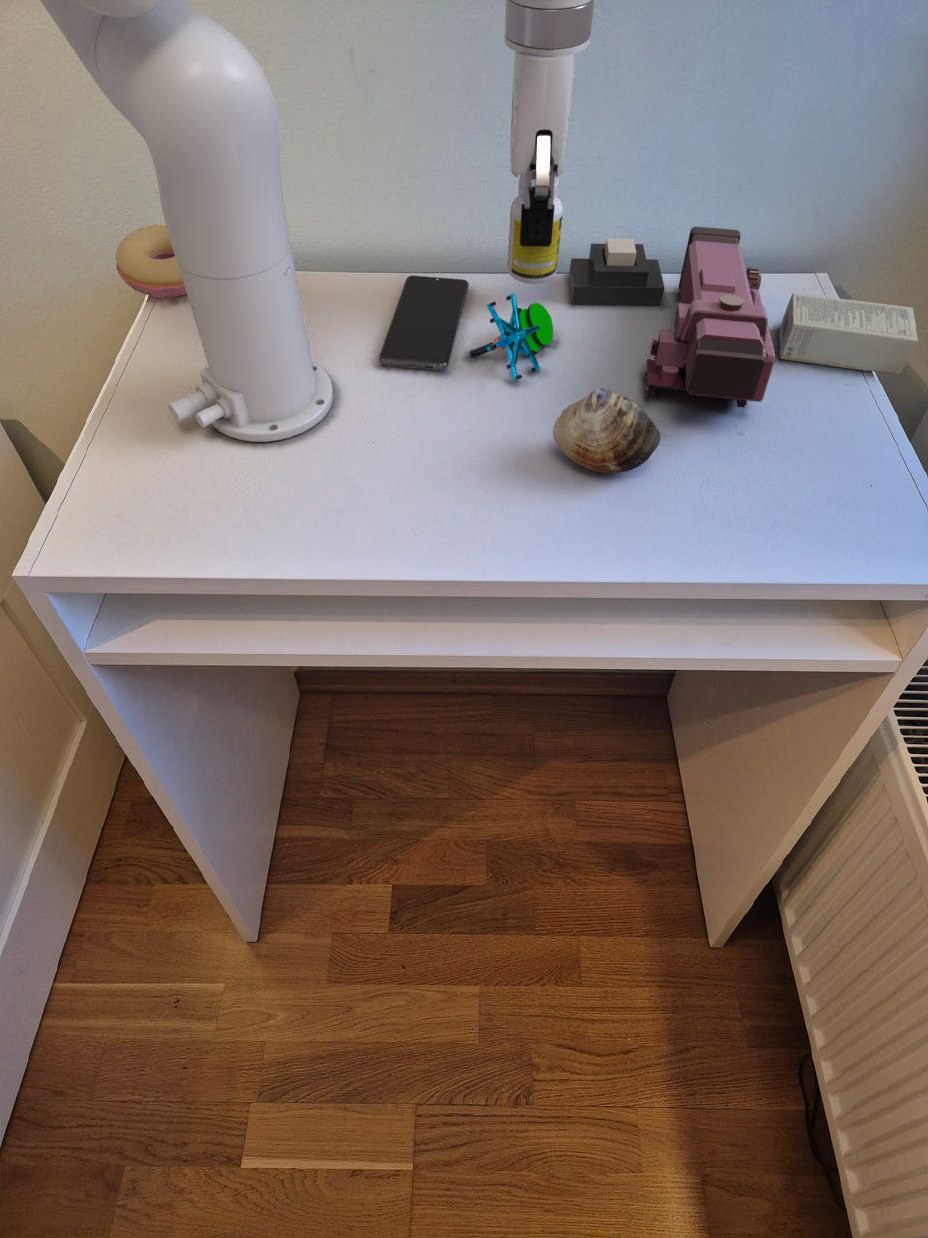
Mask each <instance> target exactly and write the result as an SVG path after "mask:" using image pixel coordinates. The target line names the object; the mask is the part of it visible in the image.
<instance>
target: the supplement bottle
mask: <svg viewBox="0 0 928 1238" xmlns="http://www.w3.org/2000/svg"><path fill="white" fill-rule="evenodd" d="M532 171H536V170H532ZM525 180H526V177H525V175H519V178H518V188H517V189H518V192H517V193H518V195H517V196H516V197H515V198H514V199H513V200H512V201H511V205H510V213H509V214H510V215H509V230H508V231H509V232H508V233H509V235H508V249H507V250H508V251H507V253H508V254H507V272H508V274H509V275H510V277H511V278H512V279H514V280H516V281H517V282H521V283H524V284H530V285H536V284H541V283H546V282H549V281H550V280H552V279H553V278H554V277H555V276H556V274H557V270H558V263H559V253H560V245H561V244H560V242H561V233H562V226H563V225H562V223H563V212H564V209H563V208H564V207H563V204H562V201H561V200H560V199H559V198H558V197H557V196H558V193H559V185H560V183H559V182H560V178H559V176H558V177H556V175H555V179H554V195H553V204H554V218H553V230H552V242H551V245H550V246H548V247H536V246H521V245H520V228H521V209H522V204H525ZM532 187H535V179H531V188H532Z"/></svg>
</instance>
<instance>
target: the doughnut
mask: <svg viewBox="0 0 928 1238" xmlns="http://www.w3.org/2000/svg"><path fill="white" fill-rule="evenodd" d="M151 225H152V226H151ZM151 225H146V226H144V227H140V228H138V229H135V231H132V232H131V233H129V234H128V235H126V236H125V237H124V238H123V239H122V240H121V242H120V243H119V245H118V246H117V249H116V252H115V263H116V264H115V269H116V271H117V273H118V275H119V277H121V279H122V280H123V281H124V283H125V284H127V286H128V287H130V288H132V289H133V290H134V292H138V293H141V294H142V295H145V296H149V297H153V298H154V299H156V297H158V298H172V297H173V299H176V297H179V296H184V295H187V293H186V290H185V286H184V283H183V280H182V276H181V273H180V270H179V266H178V263H177V261H176V258H175V255H174V251H173V248H172V245H171V241H170V238H169V234H168V231H167V227H166V225H157V224H151ZM153 225H154V226H153Z"/></svg>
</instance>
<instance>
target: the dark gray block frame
mask: <svg viewBox="0 0 928 1238" xmlns="http://www.w3.org/2000/svg"><path fill="white" fill-rule="evenodd" d="M634 244H635V248H636V258H635V264H634V266H606V260H605V254H604V253H605V246H606V243H596V242H595V243H594V242H593V243H590V247H589V256H588V258H574V257H573V258H570V266H569V275H568V279H569V287H570V288H569V289H570V297H571V298H570V299H571V305H579V306H581V305H587V306H588V305H589V306H590V305H591V306H592V305H593V306H648V307H649V306H651V307H652V306H654V307H655V306H659V307H660V306H661V305H662V301H663V297H664V293H665V284H664V279H663V276H662V271H661V267H660V262H659V259H651V258H650V259H649V258H648V259H647V256H646V252H645V247H644V243H634Z"/></svg>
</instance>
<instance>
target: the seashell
mask: <svg viewBox="0 0 928 1238" xmlns="http://www.w3.org/2000/svg"><path fill="white" fill-rule="evenodd" d="M661 436H662V435H661V432H660V430H659V428H658V427H657V426H656V424H655V423H654V422H653V420H652V419H651V418H650V417H649V416H648V414H647V413H646V412H645V411H644V410H643V409H642V408H641V406H640V405H638V404H636V403H635V402H634V401H632V400H631V399H629V398H628V397H626V396H623V395H621V394H619V393H618V392H616V391H612V390H610V389H606V388H597V389H595V390H593V391H591V392H590V393H589V394H587V395H586V396H584V397H583V398H582V399H580V400H578V401H575V402H573V403H571V404H569V405H568V406H567V407H565V408H564V409H563V410H562V411H561V413H560V415H559V416H558V417H557V418H556V420H555V421H554V425H553V428H552V437H553V439H554V441H555V443H556V444H557V446H558V447H559V449H560V450H561V451H562V453H564V455H565V456H567V457H568V458H569V459H571V461H573V462H575V463H576V464H578V465H579V466H581V467H583V468H585V469H588V470H590V471H594V472H596V473H604V474H616V473H625V472H629V471H632V470H634V469H637V468H638V467H640V466H642V465H643V464H644V463H646V462H647V461H648V460H649V459H650V457H651V456H652V455H653V453H654V452H655V451H656V449H657V448H658V447H659V445H660V443H661V438H662V437H661Z"/></svg>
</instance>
